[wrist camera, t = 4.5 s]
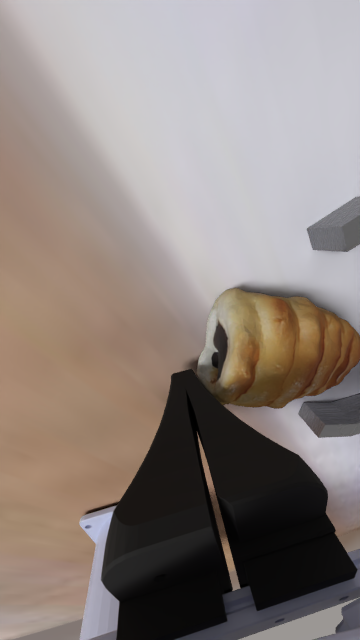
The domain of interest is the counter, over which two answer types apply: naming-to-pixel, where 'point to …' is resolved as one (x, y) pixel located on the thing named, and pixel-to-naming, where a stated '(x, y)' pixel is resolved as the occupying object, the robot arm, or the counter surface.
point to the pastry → (273, 349)
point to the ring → (343, 235)
